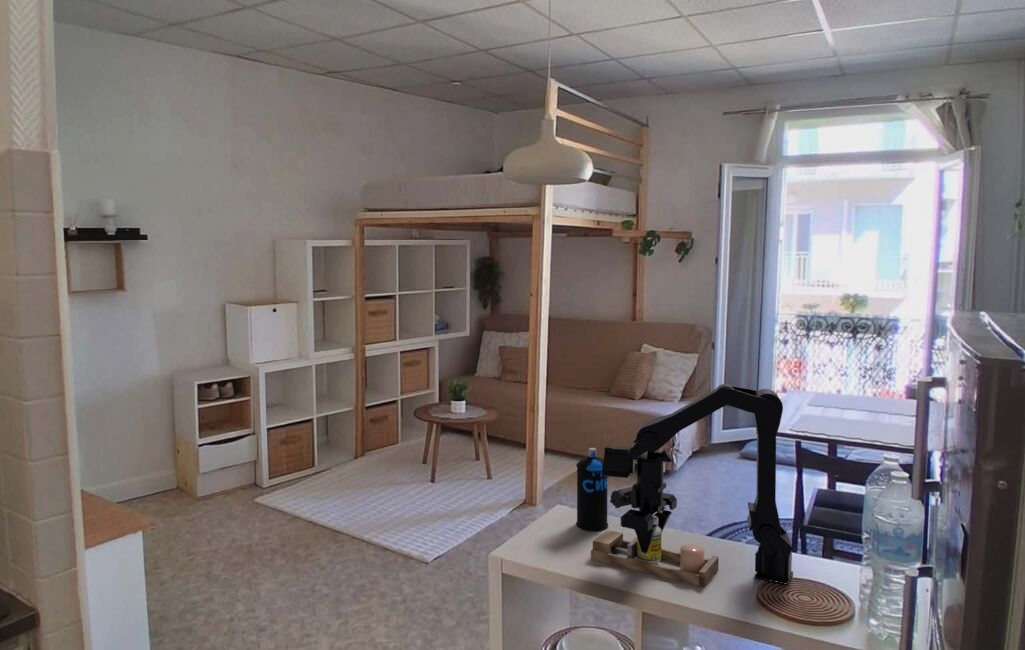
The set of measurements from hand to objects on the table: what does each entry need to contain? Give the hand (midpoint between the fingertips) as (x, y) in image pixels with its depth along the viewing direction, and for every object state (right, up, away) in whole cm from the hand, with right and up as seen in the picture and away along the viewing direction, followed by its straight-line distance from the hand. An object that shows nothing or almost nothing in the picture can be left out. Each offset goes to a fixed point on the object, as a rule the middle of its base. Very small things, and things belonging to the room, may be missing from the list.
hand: (649, 548), depth 154 cm
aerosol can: (-10, -2, +23) cm, 26 cm away
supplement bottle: (0, -3, 0) cm, 3 cm away
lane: (+1, -4, 0) cm, 4 cm away
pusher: (-5, -3, +4) cm, 7 cm away
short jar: (+8, -4, -5) cm, 10 cm away
